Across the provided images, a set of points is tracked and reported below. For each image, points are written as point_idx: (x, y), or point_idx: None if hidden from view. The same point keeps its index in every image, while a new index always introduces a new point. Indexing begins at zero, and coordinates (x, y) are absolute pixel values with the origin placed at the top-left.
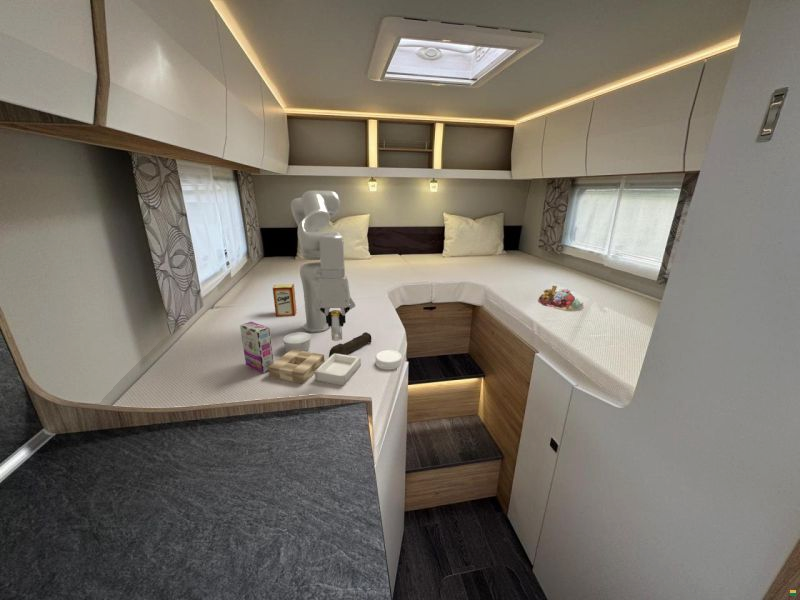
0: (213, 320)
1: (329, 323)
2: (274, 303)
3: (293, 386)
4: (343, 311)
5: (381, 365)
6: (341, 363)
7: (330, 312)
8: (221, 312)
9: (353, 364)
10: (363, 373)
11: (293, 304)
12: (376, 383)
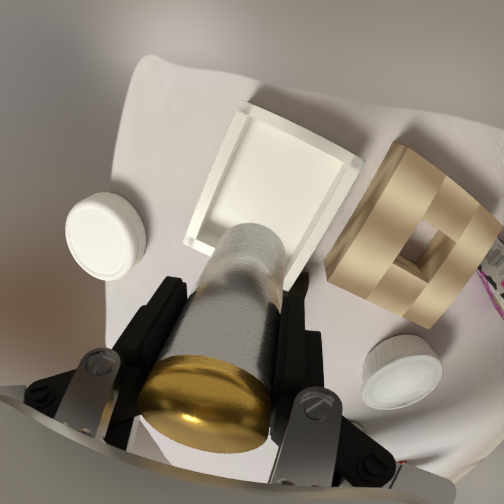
0: (497, 435)
1: (289, 311)
2: None
3: (424, 134)
4: (82, 384)
5: (120, 203)
6: None
7: (260, 425)
8: (477, 454)
9: (205, 191)
10: (181, 176)
11: None
12: (139, 112)
